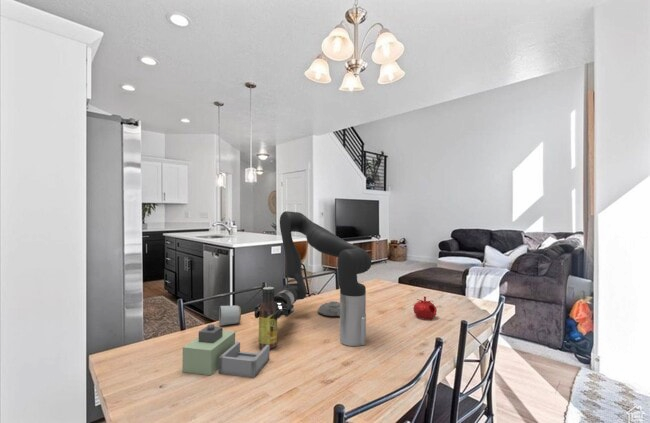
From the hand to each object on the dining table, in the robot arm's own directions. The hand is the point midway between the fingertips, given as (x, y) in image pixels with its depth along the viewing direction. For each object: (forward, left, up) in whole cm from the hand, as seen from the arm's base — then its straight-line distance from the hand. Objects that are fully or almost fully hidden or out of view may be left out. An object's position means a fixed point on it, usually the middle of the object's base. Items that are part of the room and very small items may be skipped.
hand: (265, 316), depth 102 cm
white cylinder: (+25, -21, -12) cm, 34 cm away
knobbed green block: (+7, +12, -11) cm, 18 cm away
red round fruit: (-57, -46, -12) cm, 74 cm away
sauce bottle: (0, -2, -11) cm, 11 cm away
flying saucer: (-16, -43, -12) cm, 48 cm away
